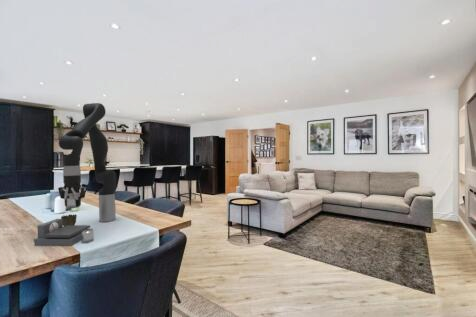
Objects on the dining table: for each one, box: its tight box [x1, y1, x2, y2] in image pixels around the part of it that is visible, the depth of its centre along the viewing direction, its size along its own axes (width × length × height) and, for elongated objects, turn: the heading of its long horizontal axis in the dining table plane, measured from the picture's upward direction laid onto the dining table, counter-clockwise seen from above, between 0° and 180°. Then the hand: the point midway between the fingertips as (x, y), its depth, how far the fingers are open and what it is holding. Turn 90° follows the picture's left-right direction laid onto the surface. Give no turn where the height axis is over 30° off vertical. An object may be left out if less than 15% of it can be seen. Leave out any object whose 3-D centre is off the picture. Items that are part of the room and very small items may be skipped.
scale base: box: [33, 218, 94, 247], centre depth 122 cm, size 16×18×9 cm
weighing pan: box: [43, 224, 91, 237], centre depth 122 cm, size 15×13×1 cm
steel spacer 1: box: [66, 196, 78, 209], centre depth 125 cm, size 5×5×5 cm
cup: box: [60, 213, 78, 227], centre depth 138 cm, size 8×7×8 cm
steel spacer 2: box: [81, 229, 95, 244], centre depth 119 cm, size 5×5×5 cm
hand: (72, 206), depth 125 cm, fingers closed on steel spacer 1, 5 cm apart
